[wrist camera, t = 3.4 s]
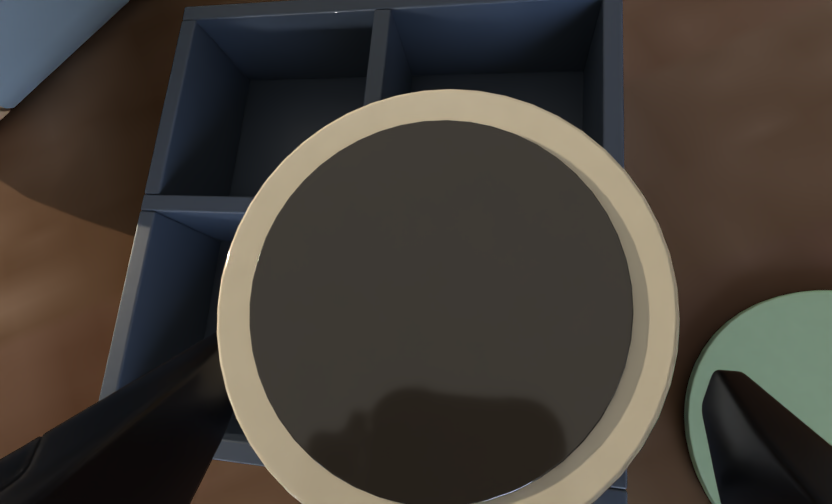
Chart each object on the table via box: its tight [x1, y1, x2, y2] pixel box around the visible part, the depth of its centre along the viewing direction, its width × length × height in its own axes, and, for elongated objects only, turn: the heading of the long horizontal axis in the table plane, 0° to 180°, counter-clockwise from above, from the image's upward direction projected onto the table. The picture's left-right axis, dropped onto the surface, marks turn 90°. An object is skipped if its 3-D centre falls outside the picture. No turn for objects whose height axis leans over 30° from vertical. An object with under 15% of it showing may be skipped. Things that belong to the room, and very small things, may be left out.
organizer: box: [99, 0, 627, 504], centre depth 17 cm, size 15×15×4 cm
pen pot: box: [217, 89, 680, 504], centre depth 12 cm, size 6×6×12 cm
